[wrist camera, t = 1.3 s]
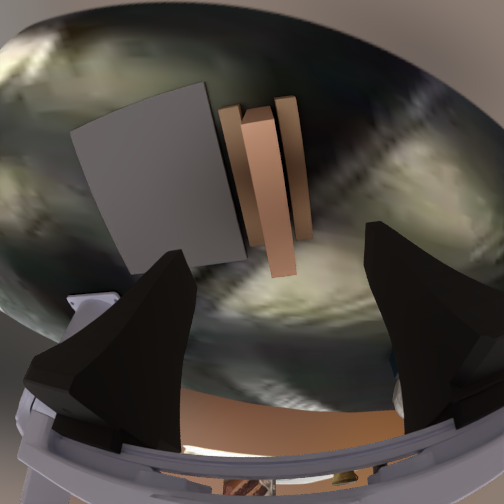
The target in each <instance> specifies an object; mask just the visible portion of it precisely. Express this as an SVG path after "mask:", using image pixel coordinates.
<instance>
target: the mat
mask: <svg viewBox="0 0 504 504" xmlns="http://www.w3.org/2000/svg"><path fill="white" fill-rule="evenodd" d="M70 135H71V138H72V141H73V144H74V147H75V150H76V153H77V156H78V158H79V161H80V164H81V166H82V169H83V172H84V174H85V177H86V179H87V182H88V184H89V187H90V189H91V192H92V194H93V196H94V199H95V201H96V203H97V206H98V208H99V210H100V212H101V215H102V217H103V219H104V221H105V223H106V226H107V228H108V230H109V232H110V234H111V236H112V238H113V240H114V242H115V244H116V246H117V248H118V250H119V252H120V254H121V256H122V258H123V260H124V262H125V264H126V266H127V268H128V270H129V271H130V273H131V275H133V274H141V273H146V272H147V271H148V270H149V269H150V268H151V267H152V266H153V265H154V264H155V263H156V262H157V261H158V260H159V259H160V258H161V257H162V256H163V255H164V254H165V253H166V252H167V251H172V250H178V249H182V251H183V254H184V256H185V259H186V261H187V264H188V266H189V267H195V266H203V265H211V264H218V263H226V262H233V261H241V260H247V254H246V250H245V246H244V242H243V238H242V234H241V230H240V226H239V222H238V217H237V213H236V209H235V205H234V201H233V197H232V193H231V189H230V185H229V181H228V177H227V173H226V169H225V165H224V160H223V156H222V152H221V148H220V144H219V140H218V136H217V132H216V128H215V123H214V119H213V115H212V111H211V107H210V103H209V98H208V94H207V90H206V86H205V82H200V83H197V84H193V85H189V86H186V87H182V88H179V89H175V90H172V91H169V92H166V93H163V94H160V95H157V96H154V97H151V98H148V99H145V100H142V101H140V102H137V103H134V104H132V105H129V106H126V107H124V108H121V109H119V110H116V111H114V112H112V113H109V114H107V115H105V116H102V117H100V118H98V119H96V120H94V121H91V122H89V123H87V124H85V125H83V126H81V127H79V128H77V129H75V130H73V131H71V132H70Z"/></svg>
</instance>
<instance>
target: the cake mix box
mask: <svg viewBox="0 0 504 504" xmlns="http://www.w3.org/2000/svg"><path fill="white" fill-rule="evenodd" d="M223 495H236V496H276V479H275V480H236V479H224V486H223Z"/></svg>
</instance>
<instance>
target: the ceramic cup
mask: <svg viewBox="0 0 504 504" xmlns="http://www.w3.org/2000/svg"><path fill="white" fill-rule="evenodd" d="M356 477H357V479H356ZM357 480H358V476H357V475H356V474H355V473H354V471H349V472H343V473H337V474H334V477H333V482H332V486H338V485H344V484H349V483H354V482H357Z"/></svg>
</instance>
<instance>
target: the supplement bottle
mask: <svg viewBox="0 0 504 504" xmlns="http://www.w3.org/2000/svg"><path fill="white" fill-rule="evenodd" d="M384 466H388V465H387V463H385V464H381V465H377V466H373V474H375V473H377V472H379V469H380V468H381V467H384Z"/></svg>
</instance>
